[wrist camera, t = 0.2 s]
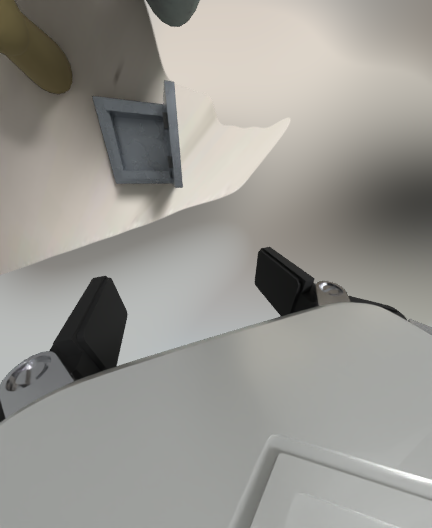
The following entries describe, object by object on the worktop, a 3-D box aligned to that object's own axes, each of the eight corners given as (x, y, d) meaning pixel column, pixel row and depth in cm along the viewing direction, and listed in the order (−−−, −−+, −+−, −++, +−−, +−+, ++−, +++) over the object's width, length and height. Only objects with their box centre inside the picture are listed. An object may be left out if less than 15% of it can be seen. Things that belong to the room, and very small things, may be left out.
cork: (34, 94, 23) (-45, 46, 14) (1, 26, 20) (-129, -91, 11) (80, 94, 24) (35, 51, 15) (57, 30, 21) (-19, -71, 12)
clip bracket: (94, 98, 25) (62, 64, 17) (172, 107, 28) (177, 82, 20) (117, 183, 31) (102, 188, 23) (179, 182, 34) (185, 187, 26)
